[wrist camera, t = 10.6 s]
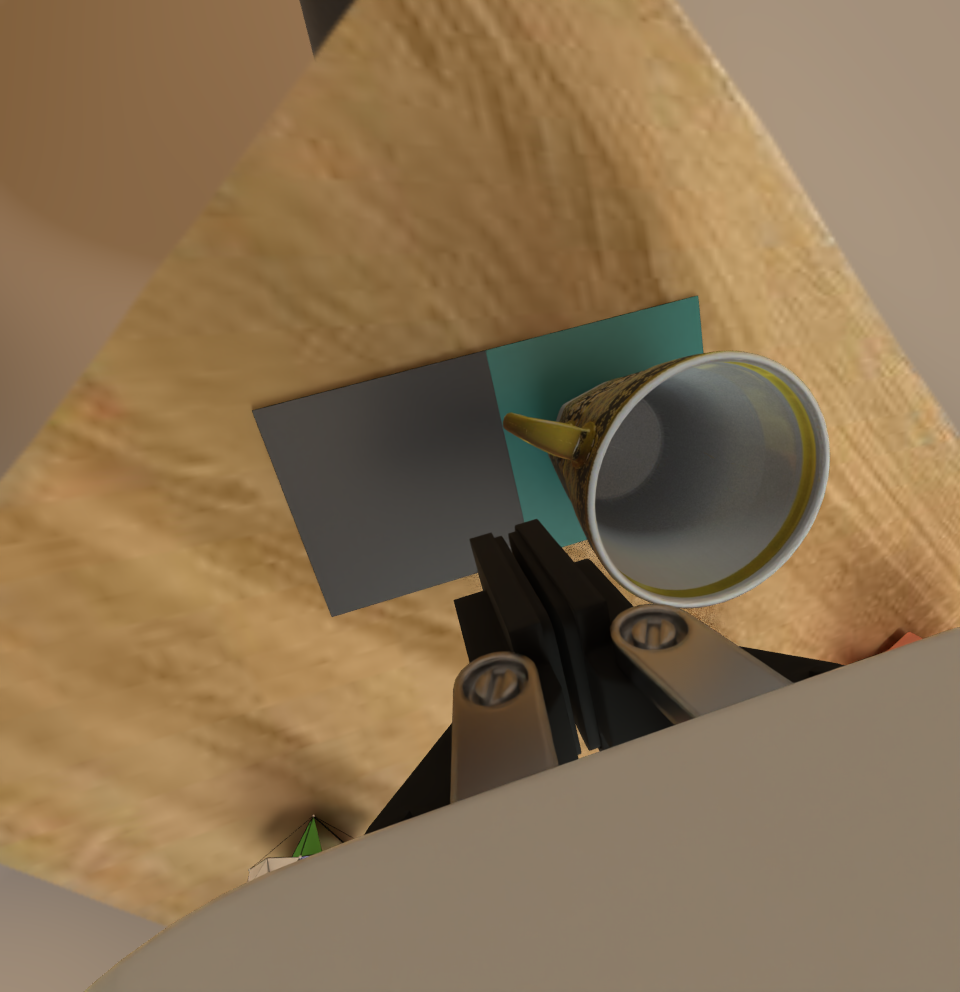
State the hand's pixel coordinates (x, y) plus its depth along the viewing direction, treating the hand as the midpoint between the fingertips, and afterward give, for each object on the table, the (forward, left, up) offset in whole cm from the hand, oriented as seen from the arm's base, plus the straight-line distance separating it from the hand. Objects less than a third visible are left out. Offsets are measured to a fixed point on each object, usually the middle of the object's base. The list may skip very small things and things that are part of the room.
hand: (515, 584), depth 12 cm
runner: (+1, +3, -16) cm, 16 cm away
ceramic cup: (+1, +8, -16) cm, 18 cm away
